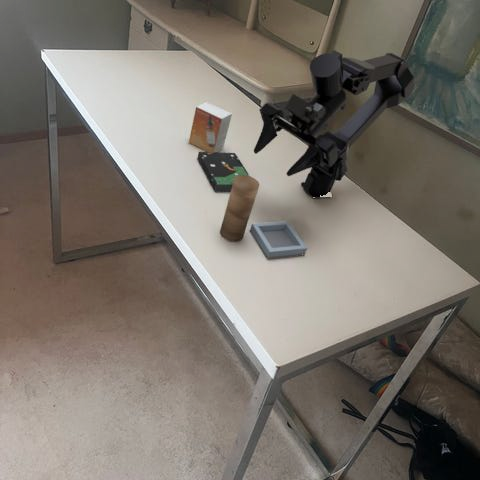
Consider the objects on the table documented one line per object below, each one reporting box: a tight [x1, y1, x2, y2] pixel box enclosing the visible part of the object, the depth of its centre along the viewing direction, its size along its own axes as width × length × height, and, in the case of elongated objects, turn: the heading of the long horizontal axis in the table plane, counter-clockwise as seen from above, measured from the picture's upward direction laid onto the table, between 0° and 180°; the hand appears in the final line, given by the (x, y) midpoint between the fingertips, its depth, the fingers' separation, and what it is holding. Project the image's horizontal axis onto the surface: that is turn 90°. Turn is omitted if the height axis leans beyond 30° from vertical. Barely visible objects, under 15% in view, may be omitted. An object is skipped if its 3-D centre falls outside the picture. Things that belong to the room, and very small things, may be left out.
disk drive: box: [196, 151, 251, 193], centre depth 113 cm, size 10×3×15 cm
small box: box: [188, 101, 233, 154], centre depth 120 cm, size 8×6×10 cm
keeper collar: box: [249, 220, 308, 260], centre depth 97 cm, size 9×9×2 cm
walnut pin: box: [219, 175, 260, 242], centre depth 92 cm, size 5×5×13 cm
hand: (270, 163), depth 93 cm, fingers open, 9 cm apart
